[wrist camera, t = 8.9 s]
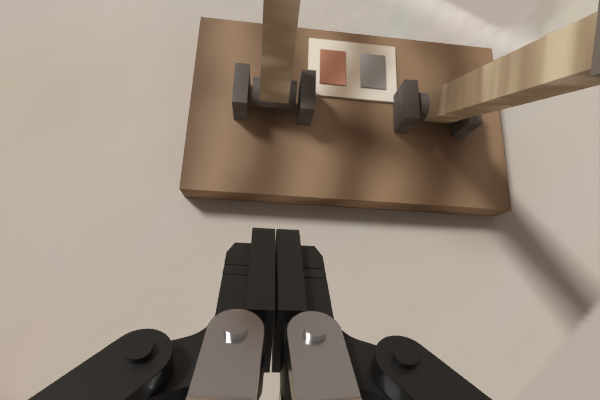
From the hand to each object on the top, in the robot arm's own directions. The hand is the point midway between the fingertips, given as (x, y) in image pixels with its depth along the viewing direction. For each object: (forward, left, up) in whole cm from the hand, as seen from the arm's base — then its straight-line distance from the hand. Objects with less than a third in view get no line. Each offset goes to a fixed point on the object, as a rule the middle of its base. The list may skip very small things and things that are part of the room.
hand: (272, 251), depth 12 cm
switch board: (+6, +13, -15) cm, 21 cm away
